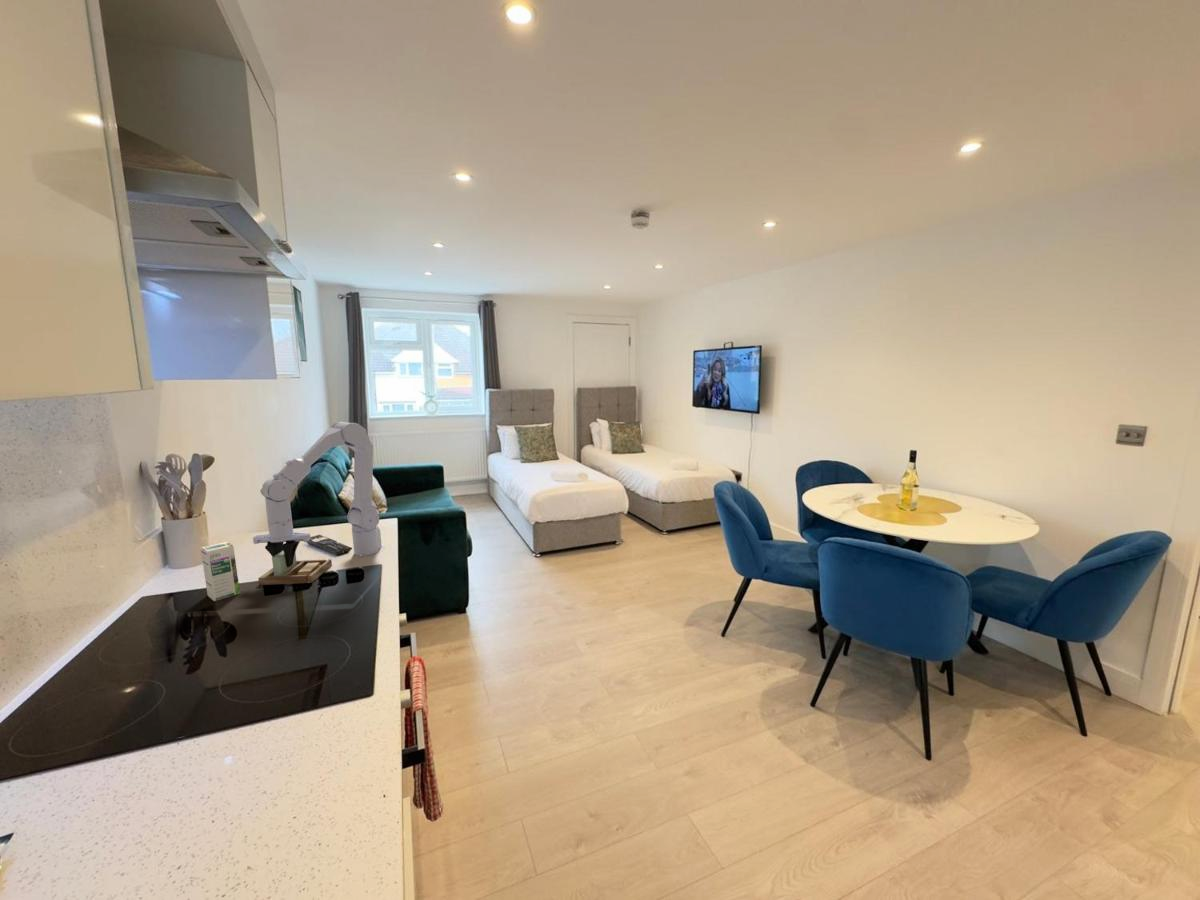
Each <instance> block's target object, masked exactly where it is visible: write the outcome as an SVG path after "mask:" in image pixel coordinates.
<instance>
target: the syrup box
mask: <svg viewBox="0 0 1200 900" xmlns="http://www.w3.org/2000/svg"><path fill="white" fill-rule="evenodd" d="M199 549H200V555H201V561H202V562H201V563H202V567H203V573H204V580H205V586H206V593H207V596H208V598H210V599H211V600H212V601H213V602H217V601H221V600H223V599H226V598H230V597H232V596H236V595H239V594H241V589H240V582H239V577H238V570H237V569H238V568H237V562H236V555H235V548H234V545H233V544H231V542H228V541H224V542H221V543H216V544H211V545H207V546H201V547H200V548H199Z"/></svg>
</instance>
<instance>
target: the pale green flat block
mask: <svg viewBox="0 0 1200 900" xmlns="http://www.w3.org/2000/svg"><path fill="white" fill-rule="evenodd" d="M296 561H297V556H296V552H295V555H294V560H293V565H291V566H290V567H287V565H286V560H285V554H284V551H282V552H280V553H278V554H277V555H275V556H274V557H272V556H271V562H272V567H273V571H274V576H283V575H284V574H286V573H287V572H288V571H290V570H291V569H292V568H294V567H295V566H297V562H296Z"/></svg>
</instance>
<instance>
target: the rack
mask: <svg viewBox="0 0 1200 900" xmlns="http://www.w3.org/2000/svg"><path fill="white" fill-rule="evenodd" d="M296 562H297V566H295V567H294V568H292V569H291V570H290V571H288V572H287V573H286V574H284V575H283V576H274V571H273V568H271V569H269V570H268V571H266V572H265V573H264V574H262V575H260V576H259V577H258V585H259V586H268V585H270V586H271V585H289V584H291V585H292V584H311V583H314V582H315V581H316V580H317V579H318V578H319V577H321V575H323V574H324V573H326V572H327V570H329V569H330V568H331V567H332V566H333V563H332V559H331V558H330V559H328V560H327V559H307V560H306V559H305V560H296ZM317 562H320V565H321V566H320V567H319V568H317V569H316V570H315V571H314V572H313V573H311V574H310V575H309V576H308V577H309V579H308V577H307V575H298V571H299V570H301V569H302V568H303V567H304V566H305V565H306V564H307V563H317Z"/></svg>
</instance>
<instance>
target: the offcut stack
mask: <svg viewBox="0 0 1200 900" xmlns="http://www.w3.org/2000/svg"><path fill="white" fill-rule="evenodd" d="M320 566H321V565H320V562H317V563H307V564H306V565H305V566H304V567H303V568H302V569H301V570H299V571H298V575H307V577H308V576H309V575H310V574H311V573H313V572H314V571H315V570H316V569H317V568H319V567H320ZM308 579H309V577H308Z"/></svg>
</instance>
